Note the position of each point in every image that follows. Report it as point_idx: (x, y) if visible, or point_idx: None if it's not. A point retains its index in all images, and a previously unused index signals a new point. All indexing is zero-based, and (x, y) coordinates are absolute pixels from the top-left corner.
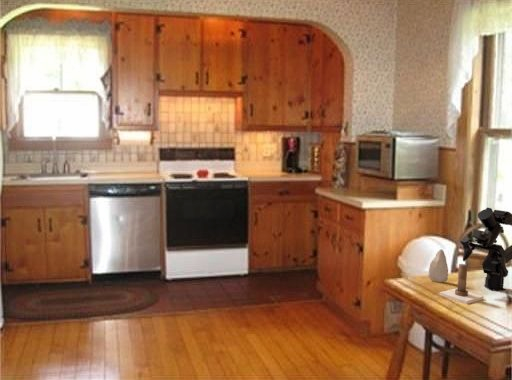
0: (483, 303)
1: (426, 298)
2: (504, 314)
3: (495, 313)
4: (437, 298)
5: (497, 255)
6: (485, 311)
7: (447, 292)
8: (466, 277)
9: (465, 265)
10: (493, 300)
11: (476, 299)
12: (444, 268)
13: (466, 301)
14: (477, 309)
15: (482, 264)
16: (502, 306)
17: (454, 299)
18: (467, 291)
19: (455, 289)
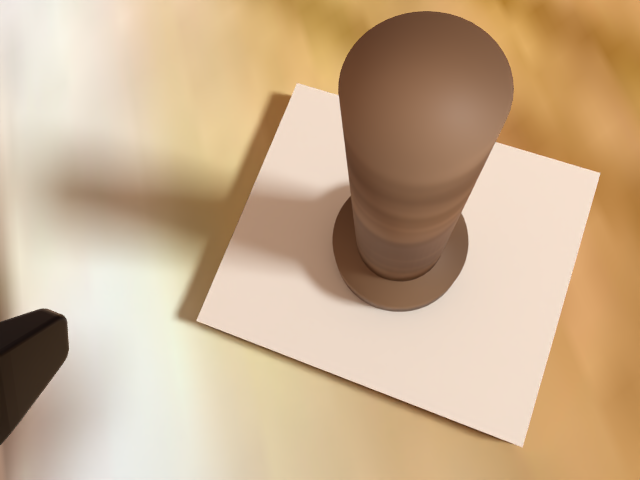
0: (181, 205)
1: (636, 23)
2: (3, 51)
3: (62, 31)
4: (559, 83)
5: None
6: (133, 26)
7: (535, 220)
8: (350, 189)
9: (369, 78)
10: (117, 353)
11: (243, 221)
12: None
13: (297, 86)
14: (193, 31)
15: (48, 311)
16: (29, 228)
17: None
18: (340, 257)
19: (510, 384)
